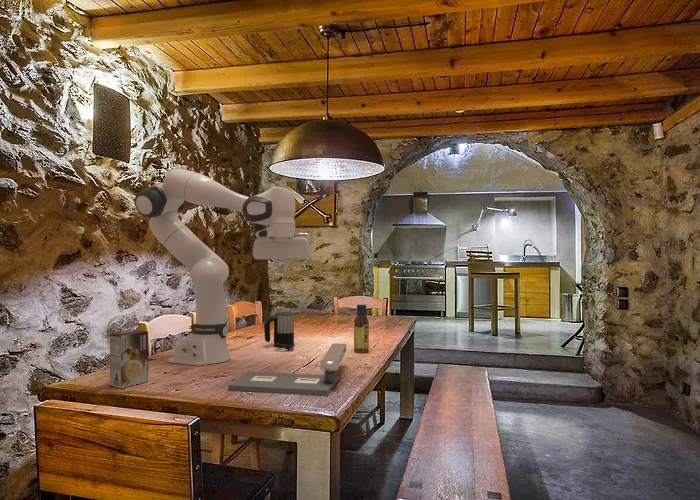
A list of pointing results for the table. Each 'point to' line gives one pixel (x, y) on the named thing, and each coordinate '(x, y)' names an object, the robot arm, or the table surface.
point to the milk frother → (281, 329)
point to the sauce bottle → (361, 330)
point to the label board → (285, 383)
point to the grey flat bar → (333, 357)
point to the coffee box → (128, 358)
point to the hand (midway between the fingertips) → (282, 272)
